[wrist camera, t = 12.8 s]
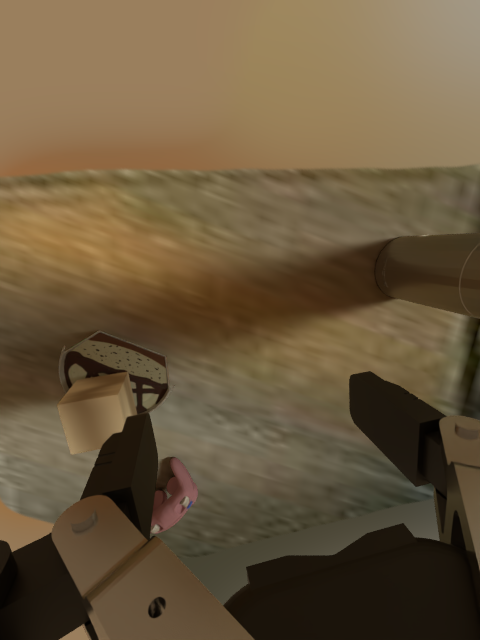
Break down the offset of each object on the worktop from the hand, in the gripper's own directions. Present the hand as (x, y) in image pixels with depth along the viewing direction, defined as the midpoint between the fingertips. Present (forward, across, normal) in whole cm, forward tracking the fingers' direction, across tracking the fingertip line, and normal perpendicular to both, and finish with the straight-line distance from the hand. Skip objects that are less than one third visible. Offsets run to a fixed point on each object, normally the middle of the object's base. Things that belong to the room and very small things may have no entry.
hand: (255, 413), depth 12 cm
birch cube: (+20, +12, +8) cm, 25 cm away
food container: (+30, +12, +8) cm, 34 cm away
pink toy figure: (+30, +10, +29) cm, 43 cm away
